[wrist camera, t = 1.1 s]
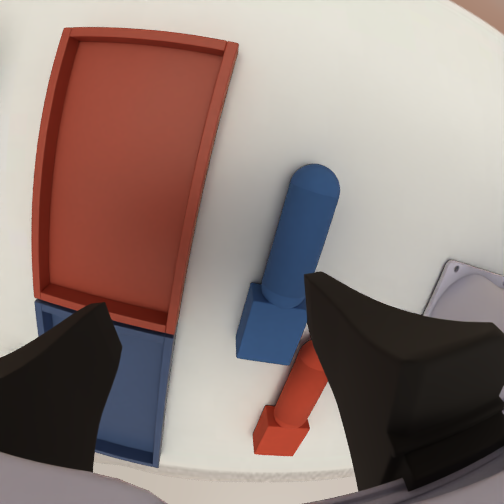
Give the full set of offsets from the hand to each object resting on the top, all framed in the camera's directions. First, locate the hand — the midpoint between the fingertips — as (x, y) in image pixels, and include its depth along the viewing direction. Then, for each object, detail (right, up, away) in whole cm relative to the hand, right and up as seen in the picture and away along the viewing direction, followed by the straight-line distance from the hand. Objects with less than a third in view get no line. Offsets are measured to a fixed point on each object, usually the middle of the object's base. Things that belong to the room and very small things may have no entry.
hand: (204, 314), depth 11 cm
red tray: (-6, +7, +7) cm, 11 cm away
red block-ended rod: (+5, -9, +14) cm, 17 cm away
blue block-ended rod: (+4, +2, +9) cm, 10 cm away
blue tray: (-11, -9, +13) cm, 19 cm away
